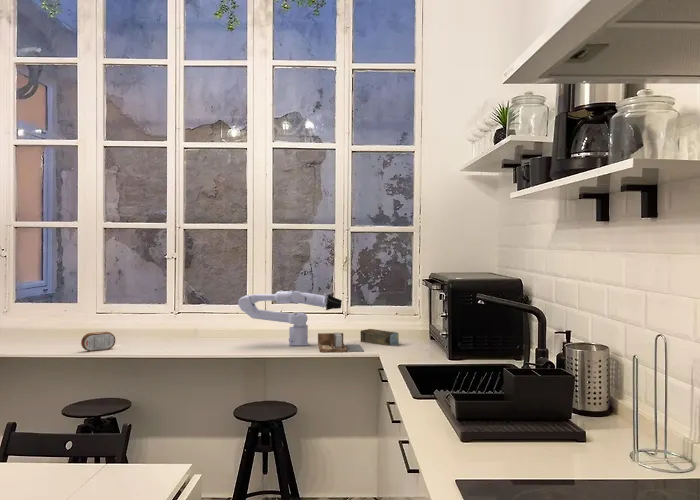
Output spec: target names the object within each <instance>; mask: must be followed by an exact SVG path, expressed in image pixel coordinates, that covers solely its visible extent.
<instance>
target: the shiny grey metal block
mask: <svg viewBox="0 0 700 500" xmlns="http://www.w3.org/2000/svg"><path fill="white" fill-rule="evenodd" d="M333 333H334V347H335V349H343V348H342V335H341V334H340V333H341V332H333Z"/></svg>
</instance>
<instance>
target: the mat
mask: <svg viewBox="0 0 700 500" xmlns="http://www.w3.org/2000/svg"><path fill="white" fill-rule="evenodd" d="M344 345H345V346H346V348H347V352H349V353H350V352H351V353H352V352H356V353H357V352H358V353H359V352H365V350H364V349H363V347H362V346H361V345H360V344H358V343H353V344H351V343H350V344H347V343H346V344H345V343H344Z"/></svg>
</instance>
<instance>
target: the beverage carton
mask: <svg viewBox="0 0 700 500" xmlns="http://www.w3.org/2000/svg"><path fill="white" fill-rule="evenodd" d="M399 336H400V335H399V332H396V331H388V330H380V329H375V328H374V329H373V328H368V329H362V330H360V342H361V343H366V342H367V344H374V345H381V346H395V345H399V340H400V339H399Z"/></svg>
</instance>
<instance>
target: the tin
mask: <svg viewBox="0 0 700 500" xmlns="http://www.w3.org/2000/svg"><path fill="white" fill-rule="evenodd" d="M80 345H81V347H82V348H83V349H84V350H85V351H86V352H99V351H107V350H108V351H109V350H111V349H112V348H113V347H114V346H115V345H116V337H115V335H114V334H113V333H112V332H110V331H101V332H100V331H99V332H98V331H97V332H89V333H86V334H85V335H84V336H83V337H82V339H81V342H80Z"/></svg>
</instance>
